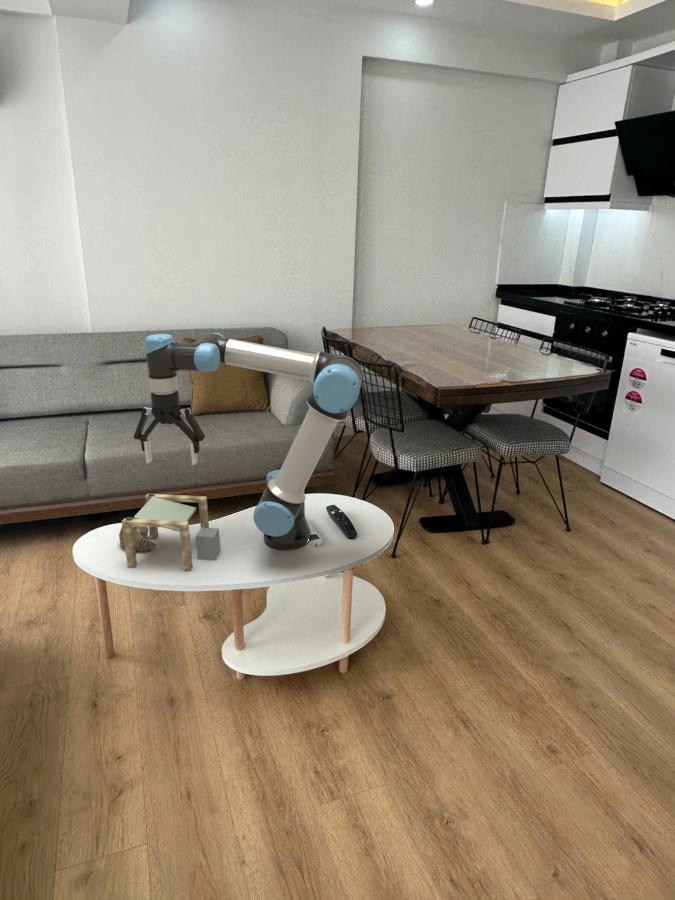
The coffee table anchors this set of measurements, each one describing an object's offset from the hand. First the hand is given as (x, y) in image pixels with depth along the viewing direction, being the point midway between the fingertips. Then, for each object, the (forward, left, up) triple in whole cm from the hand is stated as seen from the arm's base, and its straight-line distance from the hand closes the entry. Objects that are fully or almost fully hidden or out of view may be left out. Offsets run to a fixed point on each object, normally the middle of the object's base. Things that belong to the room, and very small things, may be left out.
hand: (172, 462), depth 175 cm
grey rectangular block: (-9, 0, -26) cm, 28 cm away
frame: (+3, 0, -30) cm, 30 cm away
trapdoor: (+4, 0, -20) cm, 20 cm away
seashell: (+15, -5, -31) cm, 35 cm away
